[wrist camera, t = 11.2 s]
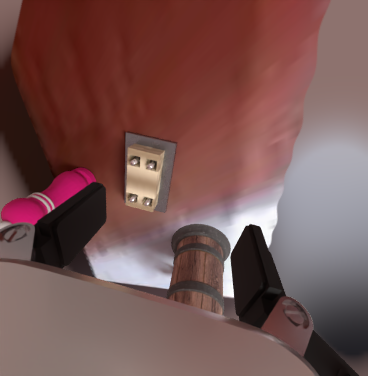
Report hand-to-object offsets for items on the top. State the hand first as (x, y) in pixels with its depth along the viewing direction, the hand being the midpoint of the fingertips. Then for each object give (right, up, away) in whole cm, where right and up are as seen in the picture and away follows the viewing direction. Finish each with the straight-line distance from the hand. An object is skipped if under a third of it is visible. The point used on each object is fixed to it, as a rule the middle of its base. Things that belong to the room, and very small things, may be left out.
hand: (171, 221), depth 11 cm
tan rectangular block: (-8, +5, +28) cm, 30 cm away
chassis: (-8, +5, +29) cm, 31 cm away
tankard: (+4, -17, +39) cm, 43 cm away
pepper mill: (-25, +5, +33) cm, 42 cm away
